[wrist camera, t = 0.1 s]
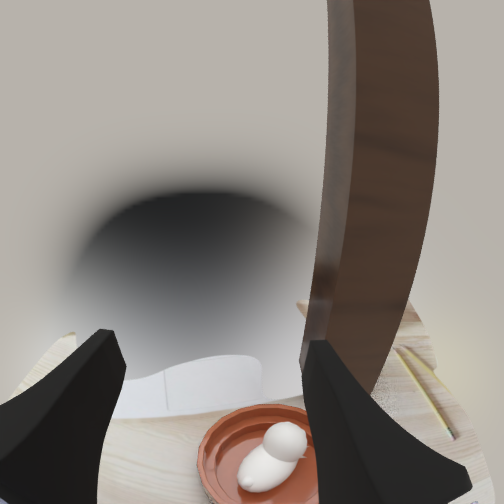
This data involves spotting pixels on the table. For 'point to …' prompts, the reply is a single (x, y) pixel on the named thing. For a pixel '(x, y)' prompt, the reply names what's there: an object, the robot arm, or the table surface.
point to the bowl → (241, 444)
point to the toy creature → (273, 458)
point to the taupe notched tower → (373, 177)
